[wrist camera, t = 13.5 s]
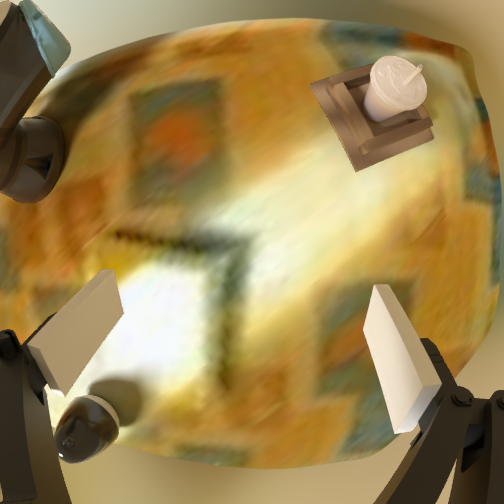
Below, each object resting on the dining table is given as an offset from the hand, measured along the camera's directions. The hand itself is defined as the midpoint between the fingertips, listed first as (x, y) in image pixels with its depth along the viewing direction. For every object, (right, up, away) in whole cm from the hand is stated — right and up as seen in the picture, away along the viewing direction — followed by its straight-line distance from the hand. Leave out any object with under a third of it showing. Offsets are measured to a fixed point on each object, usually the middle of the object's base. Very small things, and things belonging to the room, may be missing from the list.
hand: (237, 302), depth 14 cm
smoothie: (+17, +21, +19) cm, 33 cm away
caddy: (+17, +21, +19) cm, 33 cm away
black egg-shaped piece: (-26, -26, +29) cm, 48 cm away
